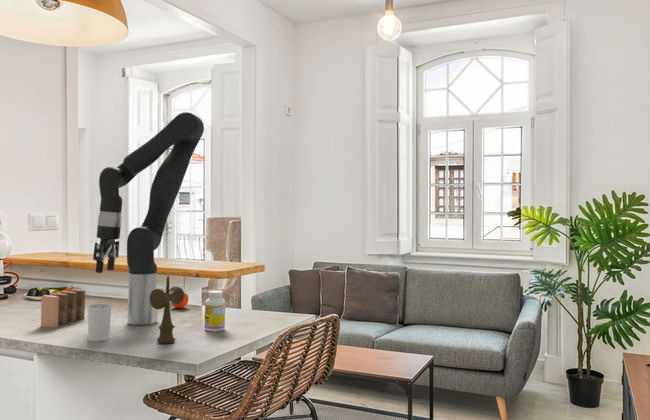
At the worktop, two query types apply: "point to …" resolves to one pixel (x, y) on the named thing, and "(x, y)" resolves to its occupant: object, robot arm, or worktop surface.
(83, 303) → the domino
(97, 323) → the drinking glass
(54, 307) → the domino
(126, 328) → the worktop surface
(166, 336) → the kendama
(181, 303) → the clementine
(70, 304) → the domino
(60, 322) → the domino
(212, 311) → the supplement bottle
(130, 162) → the robot arm
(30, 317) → the worktop surface
